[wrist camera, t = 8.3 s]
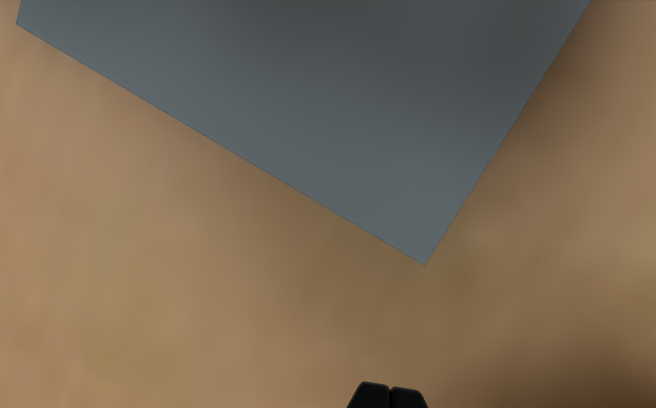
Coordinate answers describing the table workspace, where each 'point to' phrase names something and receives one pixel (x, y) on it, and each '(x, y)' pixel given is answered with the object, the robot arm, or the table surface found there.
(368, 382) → the robot arm
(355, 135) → the dial plate
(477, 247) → the table surface
